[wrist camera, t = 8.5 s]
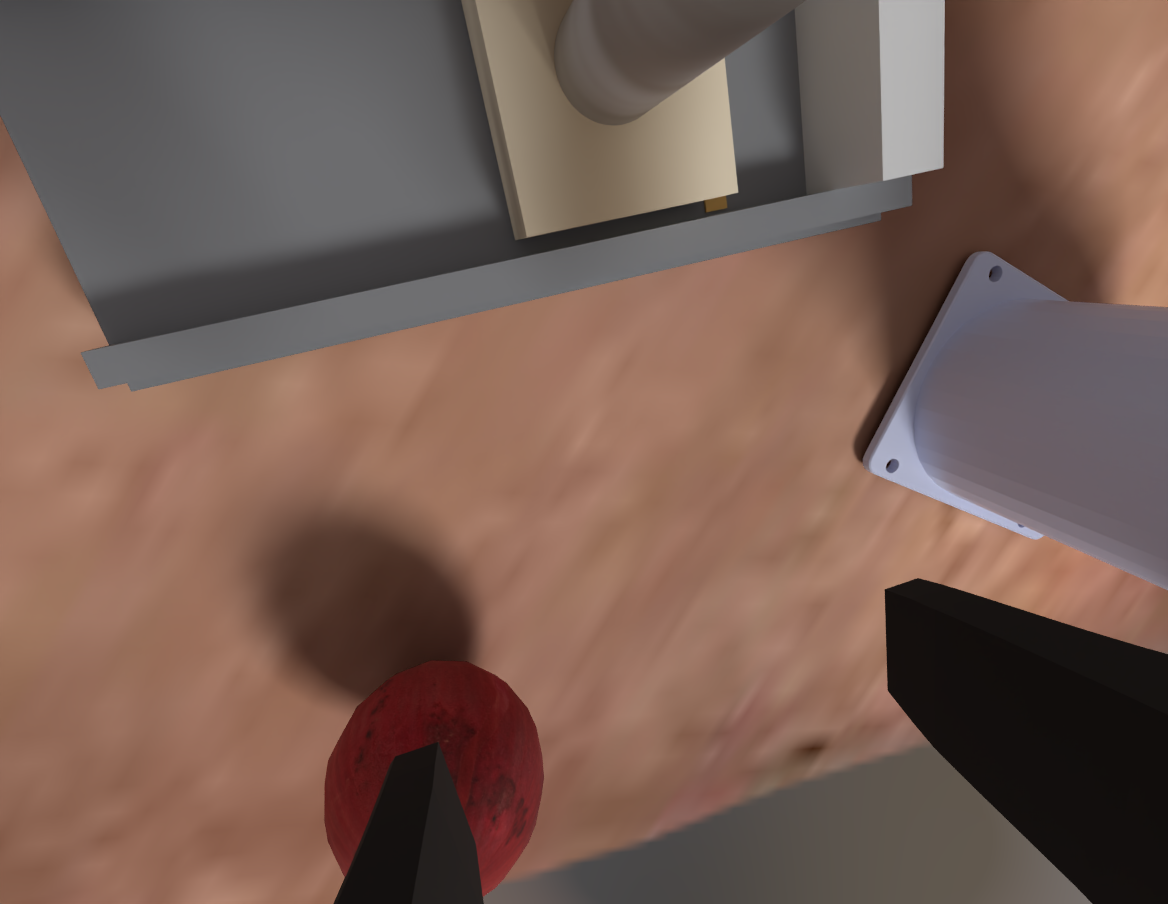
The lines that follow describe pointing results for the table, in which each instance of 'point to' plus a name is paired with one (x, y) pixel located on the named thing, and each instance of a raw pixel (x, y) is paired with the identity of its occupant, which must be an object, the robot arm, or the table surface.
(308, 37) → the rail base
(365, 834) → the robot arm
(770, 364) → the table surface
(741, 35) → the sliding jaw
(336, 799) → the onion
